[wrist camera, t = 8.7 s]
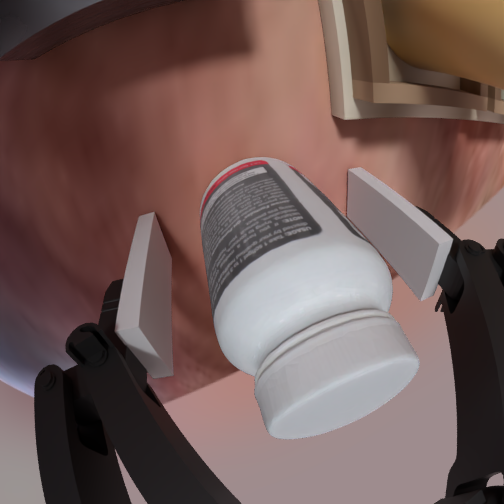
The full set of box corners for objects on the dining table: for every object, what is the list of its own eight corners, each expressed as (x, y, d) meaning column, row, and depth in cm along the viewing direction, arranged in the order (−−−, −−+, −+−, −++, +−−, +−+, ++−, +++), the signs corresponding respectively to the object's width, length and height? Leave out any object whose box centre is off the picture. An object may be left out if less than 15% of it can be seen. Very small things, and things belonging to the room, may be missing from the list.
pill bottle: (197, 256, 14) (227, 458, 6) (202, 151, 11) (251, 369, 3) (297, 254, 15) (383, 418, 8) (320, 160, 12) (481, 312, 5)
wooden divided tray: (331, 114, 11) (364, 127, 9) (301, -73, 5) (327, -95, 3) (513, 122, 13) (538, 134, 10) (509, 12, 6) (535, 17, 4)
